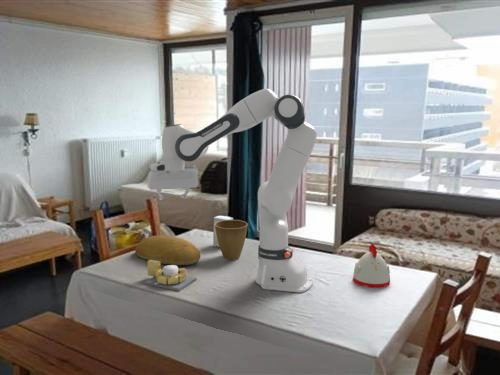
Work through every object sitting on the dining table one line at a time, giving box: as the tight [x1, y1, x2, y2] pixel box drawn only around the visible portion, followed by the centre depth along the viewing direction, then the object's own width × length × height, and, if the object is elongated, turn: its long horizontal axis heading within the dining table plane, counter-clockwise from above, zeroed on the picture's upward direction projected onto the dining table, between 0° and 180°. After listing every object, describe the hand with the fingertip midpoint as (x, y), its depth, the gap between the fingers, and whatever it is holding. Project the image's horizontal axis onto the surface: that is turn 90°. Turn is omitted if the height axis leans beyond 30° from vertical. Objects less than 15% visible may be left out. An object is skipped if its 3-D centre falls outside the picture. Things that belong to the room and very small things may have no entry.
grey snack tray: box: [144, 264, 198, 292], centre depth 165 cm, size 16×12×6 cm
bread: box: [134, 234, 202, 266], centre depth 194 cm, size 18×35×10 cm, turn 59°
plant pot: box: [215, 219, 248, 261], centre depth 193 cm, size 15×15×16 cm
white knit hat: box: [352, 243, 391, 289], centre depth 165 cm, size 14×14×15 cm
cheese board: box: [146, 260, 187, 285], centre depth 166 cm, size 16×11×6 cm
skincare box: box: [212, 215, 234, 248], centre depth 211 cm, size 8×6×15 cm
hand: (173, 199), depth 171 cm, fingers open, 8 cm apart
